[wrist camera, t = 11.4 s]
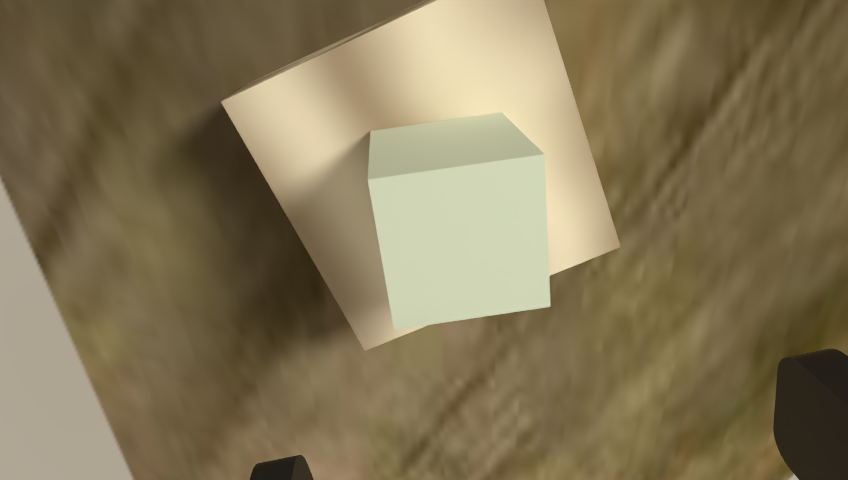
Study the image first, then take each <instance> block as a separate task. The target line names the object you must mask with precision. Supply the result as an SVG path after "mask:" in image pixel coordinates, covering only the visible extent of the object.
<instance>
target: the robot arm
mask: <svg viewBox="0 0 848 480" xmlns="http://www.w3.org/2000/svg"><path fill="white" fill-rule="evenodd" d="M774 437H775V441H776V444H777V447H778V449H779V451H780V454H781V456H782V457H783V459H784V461H785V462H786V464H787V465H788V467H789V468H790V469H791V471H792V472H793V473H794V474H795V475H796V476H797V478H798V479H799V480H848V356H847V355H845V354H844V353H842V352H841V351H839V350H836V349H826V350H821V351H816V352H811V353H806V354H801V355H796V356H791V357H787V358H783V359H782V360H781V361H780V363H779V365H778V372H777V386H776V399H775V413H774ZM250 480H313V477H312V474H311V472H310V469H309V467H308V464H307V462H306V460H305V458H304V457H303V456H302V455H297V456H293V457H288V458H283V459H278V460H273V461H268V462H263V463H258V464H256V465H255V467H254V469H253V471H252V474H251V477H250Z"/></svg>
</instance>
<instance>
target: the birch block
mask: <svg viewBox="0 0 848 480" xmlns="http://www.w3.org/2000/svg"><path fill="white" fill-rule="evenodd" d="M221 103H222V105H223V106H224V108H225V110H226V112H227V113H228V115H229V117H230V118H231V120H232V122H233V124H234V125H235V127H236V129H237V131H238V132H239V134H240V136H241V137H242V139H243V141H244V143H245V144H246V146H247V148H248V150H249V151H250V153H251V155H252V156H253V158H254V160H255V162H256V163H257V165H258V167H259V169H260V170H261V172H262V174H263V175H264V177H265V179H266V181H267V182H268V184H269V186H270V188H271V189H272V191H273V193H274V194H275V196H276V198H277V200H278V201H279V203H280V205H281V207H282V208H283V210H284V212H285V213H286V215H287V217H288V219H289V220H290V222H291V224H292V226H293V227H294V229H295V231H296V232H297V234H298V236H299V238H300V239H301V241H302V243H303V245H304V246H305V248H306V250H307V251H308V253H309V255H310V257H311V258H312V260H313V262H314V264H315V265H316V267H317V269H318V270H319V272H320V274H321V276H322V277H323V279H324V281H325V282H326V284H327V286H328V288H329V289H330V291H331V293H332V295H333V296H334V298H335V300H336V301H337V303H338V305H339V307H340V308H341V310H342V312H343V314H344V315H345V317H346V319H347V320H348V322H349V324H350V326H351V327H352V329H353V331H354V333H355V334H356V336H357V338H358V339H359V341H360V343H361V345H362V346H363V348H364V350H365V351H366V350H368V349H371V348H373V347H376V346H378V345H381V344H383V343H385V342H388V341H390V340H393V339H395V338H398V337H400V336H403V335H405V334H408V333H410V332H412V331H415V330H417V329H420V328H422V327H425V326H427V325H424V326H417V327H410V328H403V329H397V330H394V326H393V321H392V315H391V309H390V304H389V298H388V292H387V287H386V281H385V275H384V270H383V264H382V258H381V253H380V247H379V241H378V236H377V230H376V224H375V219H374V213H373V207H372V202H371V196H370V190H369V185H368V165H369V148H370V131H373V130H380V129H387V128H394V127H401V126H408V125H415V124H422V123H429V122H436V121H443V120H450V119H457V118H464V117H471V116H478V115H485V114H492V113H499V112H502V113H503V114H504V115H505V116H506V117H507V118H508V119H509V120H510V121H511V122H512V123H513V124H514V125H515V126H516V127H517V128H518V129H519V130H520V131H521V132H522V133H523V134H524V135H525V136H527V137H528V138H529V139H530V140H531V141H532V142H533V143H534V144H535V145H536V146H537V147H538V148H539V149H540V150H541V151H542V152H543V153H544V156H545V181H546V207H547V232H548V258H549V276H550V275H553V274H555V273H557V272H560V271H562V270H565V269H567V268H570V267H572V266H575V265H577V264H580V263H582V262H584V261H587V260H589V259H592V258H594V257H597V256H599V255H602V254H604V253H607V252H609V251H612V250H614V249H616V248H619V247H620V243H619V240H618V237H617V234H616V231H615V227H614V224H613V221H612V218H611V215H610V211H609V208H608V205H607V202H606V198H605V195H604V192H603V189H602V186H601V182H600V179H599V176H598V173H597V170H596V166H595V163H594V160H593V157H592V154H591V150H590V147H589V144H588V141H587V137H586V134H585V131H584V128H583V125H582V121H581V118H580V115H579V112H578V109H577V105H576V102H575V99H574V96H573V93H572V89H571V86H570V83H569V80H568V77H567V73H566V70H565V67H564V64H563V60H562V57H561V54H560V51H559V48H558V44H557V41H556V38H555V35H554V32H553V28H552V25H551V22H550V19H549V16H548V12H547V9H546V6H545V3H544V0H424V1H422V2H420V3H418V4H416V5H414V6H412V7H410V8H407V9H405V10H403V11H401V12H399V13H397V14H395V15H393V16H390V17H388V18H386V19H384V20H382V21H380V22H378V23H376V24H373V25H371V26H369V27H367V28H365V29H363V30H361V31H359V32H356V33H354V34H352V35H350V36H348V37H346V38H344V39H342V40H339V41H337V42H335V43H333V44H331V45H329V46H327V47H325V48H322V49H320V50H318V51H316V52H314V53H312V54H310V55H308V56H305V57H303V58H301V59H299V60H297V61H295V62H293V63H291V64H288V65H286V66H284V67H282V68H280V69H278V70H276V71H274V72H271V73H269V74H267V75H265V76H263V77H261V78H259V79H257V80H254V81H252V82H250V83H248V84H247V85H245V86H244V87H242V88H241V89H239V90H238V91H236V92H235V93H233V94H232V95H230V96H229V97H227V98H226V99H224V100H223V101H221Z"/></svg>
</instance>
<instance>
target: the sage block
mask: <svg viewBox="0 0 848 480" xmlns="http://www.w3.org/2000/svg"><path fill="white" fill-rule="evenodd" d="M368 185H369V190H370V196H371V202H372V207H373V213H374V219H375V224H376V230H377V236H378V241H379V247H380V253H381V258H382V264H383V270H384V275H385V281H386V287H387V292H388V298H389V304H390V309H391V315H392V321H393V326H394V330H397V329H403V328H410V327H417V326H424V325H430V324H437V323H444V322H450V321H457V320H464V319H471V318H477V317H484V316H491V315H497V314H504V313H511V312H518V311H524V310H531V309H538V308H544V307H550V283H549V258H548V232H547V207H546V181H545V156H544V153H543V152H542V151H541V150H540V149H539V148H538V147H537V146H536V145H535V144H534V143H533V142H532V141H531V140H530V139H529V138H528V137H527V136H525V135H524V134H523V133H522V132H521V131H520V130H519V129H518V128H517V127H516V126H515V125H514V124H513V123H512V122H511V121H510V120H509V119H508V118H507V117H506V116H505V115H504V114H503V113H502V112H499V113H492V114H485V115H478V116H471V117H464V118H457V119H450V120H443V121H436V122H429V123H422V124H415V125H408V126H401V127H394V128H387V129H380V130H373V131H370V148H369V165H368Z"/></svg>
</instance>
